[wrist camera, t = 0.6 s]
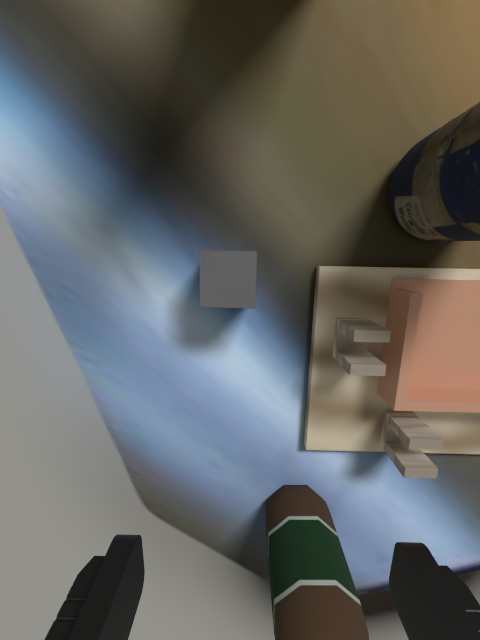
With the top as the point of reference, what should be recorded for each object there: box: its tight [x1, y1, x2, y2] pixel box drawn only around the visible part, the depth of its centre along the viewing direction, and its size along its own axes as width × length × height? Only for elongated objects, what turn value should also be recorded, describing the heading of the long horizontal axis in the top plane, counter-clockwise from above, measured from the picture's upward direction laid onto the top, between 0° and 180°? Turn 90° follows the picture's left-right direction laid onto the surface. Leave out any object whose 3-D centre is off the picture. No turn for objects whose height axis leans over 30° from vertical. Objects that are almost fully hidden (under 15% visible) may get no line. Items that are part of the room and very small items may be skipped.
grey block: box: [199, 250, 257, 308], centre depth 26 cm, size 4×4×7 cm
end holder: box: [377, 278, 480, 413], centre depth 28 cm, size 12×15×4 cm
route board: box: [304, 266, 480, 478], centre depth 28 cm, size 20×23×6 cm
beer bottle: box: [266, 485, 369, 640], centre depth 24 cm, size 8×8×24 cm
